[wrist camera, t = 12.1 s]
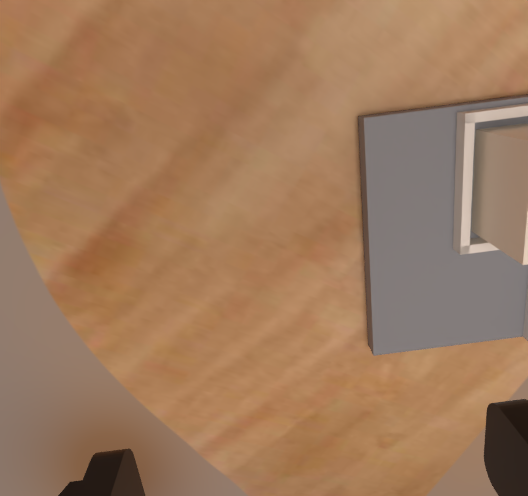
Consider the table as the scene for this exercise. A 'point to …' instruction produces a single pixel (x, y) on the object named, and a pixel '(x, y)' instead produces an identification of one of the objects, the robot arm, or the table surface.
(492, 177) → the cream box
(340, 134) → the table surface
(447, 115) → the shelf deck
